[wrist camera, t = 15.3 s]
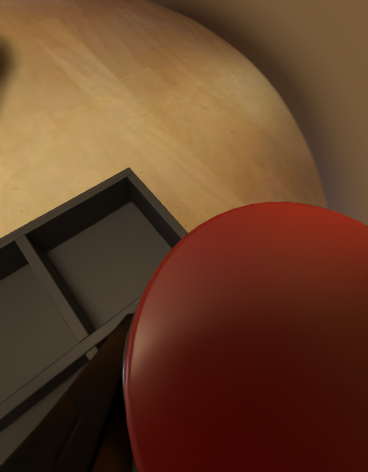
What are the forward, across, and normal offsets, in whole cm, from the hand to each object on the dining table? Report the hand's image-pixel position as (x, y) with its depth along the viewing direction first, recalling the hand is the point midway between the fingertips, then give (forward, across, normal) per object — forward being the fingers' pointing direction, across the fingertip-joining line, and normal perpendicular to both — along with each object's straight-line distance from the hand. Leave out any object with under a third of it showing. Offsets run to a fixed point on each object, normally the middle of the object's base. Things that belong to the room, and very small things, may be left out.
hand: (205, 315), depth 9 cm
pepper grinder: (+4, 0, +6) cm, 7 cm away
